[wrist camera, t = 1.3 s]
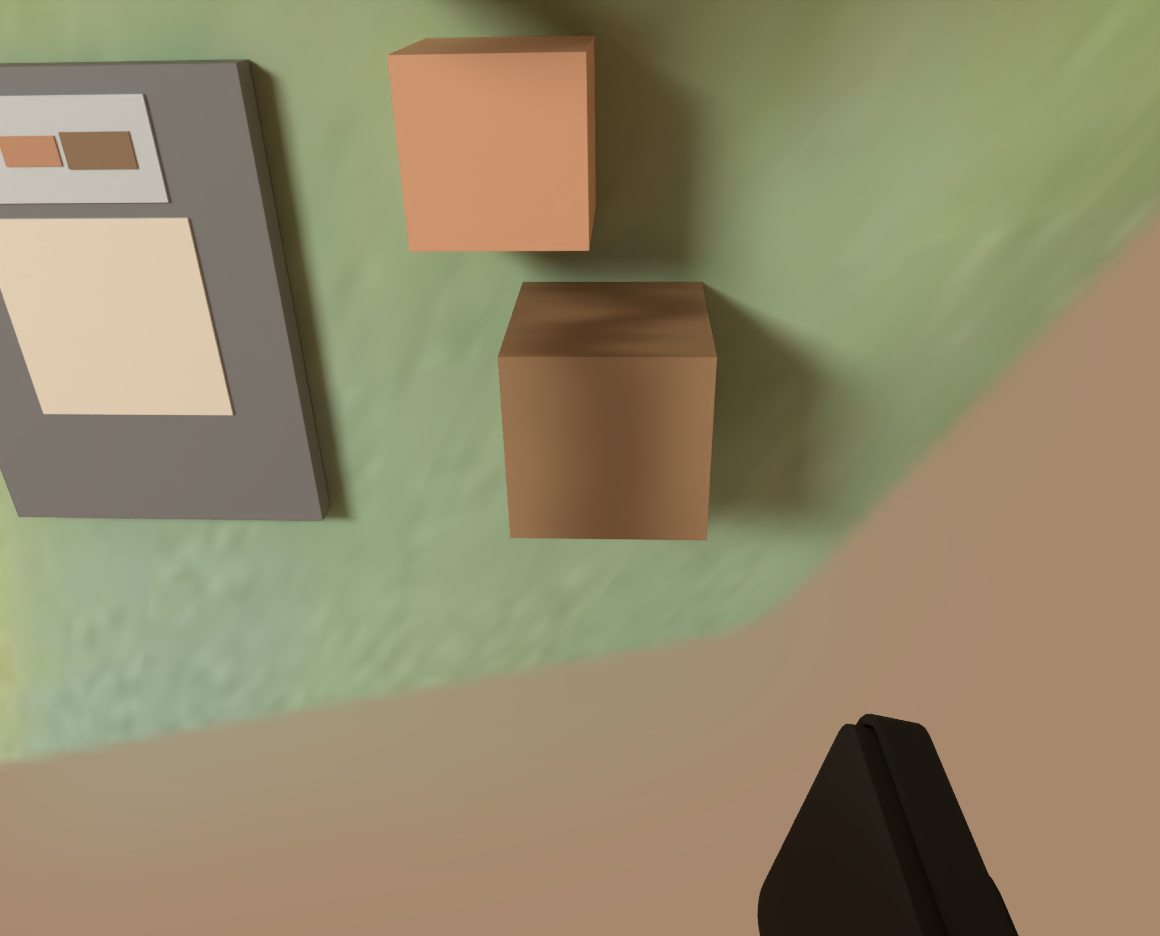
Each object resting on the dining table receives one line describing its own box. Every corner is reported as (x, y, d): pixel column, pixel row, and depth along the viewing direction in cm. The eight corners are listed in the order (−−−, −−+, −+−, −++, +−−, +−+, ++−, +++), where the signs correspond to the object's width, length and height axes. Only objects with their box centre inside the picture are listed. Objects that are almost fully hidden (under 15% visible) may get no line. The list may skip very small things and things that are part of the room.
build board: (248, 59, 28) (233, 63, 27) (330, 507, 36) (321, 523, 35) (-129, 65, 28) (-157, 70, 27) (33, 503, 36) (16, 518, 35)
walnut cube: (702, 281, 31) (717, 357, 25) (694, 440, 33) (706, 540, 28) (523, 281, 31) (497, 356, 25) (531, 439, 34) (510, 537, 28)
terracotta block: (594, 34, 27) (586, 51, 23) (596, 206, 30) (589, 250, 25) (426, 37, 27) (387, 54, 23) (442, 207, 30) (409, 251, 25)
